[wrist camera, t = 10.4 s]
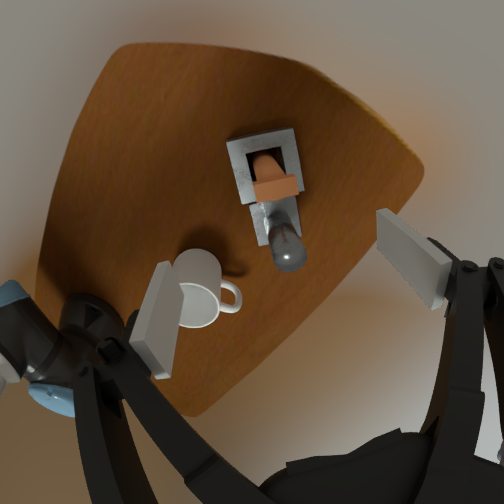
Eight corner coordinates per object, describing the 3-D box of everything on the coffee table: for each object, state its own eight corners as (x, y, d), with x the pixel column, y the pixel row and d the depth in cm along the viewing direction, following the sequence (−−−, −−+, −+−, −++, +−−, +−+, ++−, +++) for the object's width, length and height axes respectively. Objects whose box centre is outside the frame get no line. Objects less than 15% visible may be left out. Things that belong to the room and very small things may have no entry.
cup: (179, 240, 43) (167, 275, 34) (249, 261, 46) (253, 299, 37) (169, 280, 47) (157, 319, 38) (233, 298, 50) (234, 338, 41)
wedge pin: (251, 173, 39) (258, 209, 26) (246, 153, 37) (251, 179, 24) (277, 167, 39) (299, 200, 25) (273, 147, 37) (294, 170, 24)
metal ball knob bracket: (253, 244, 44) (260, 289, 34) (226, 139, 36) (224, 149, 26) (305, 232, 44) (327, 273, 34) (286, 126, 36) (308, 132, 25)
